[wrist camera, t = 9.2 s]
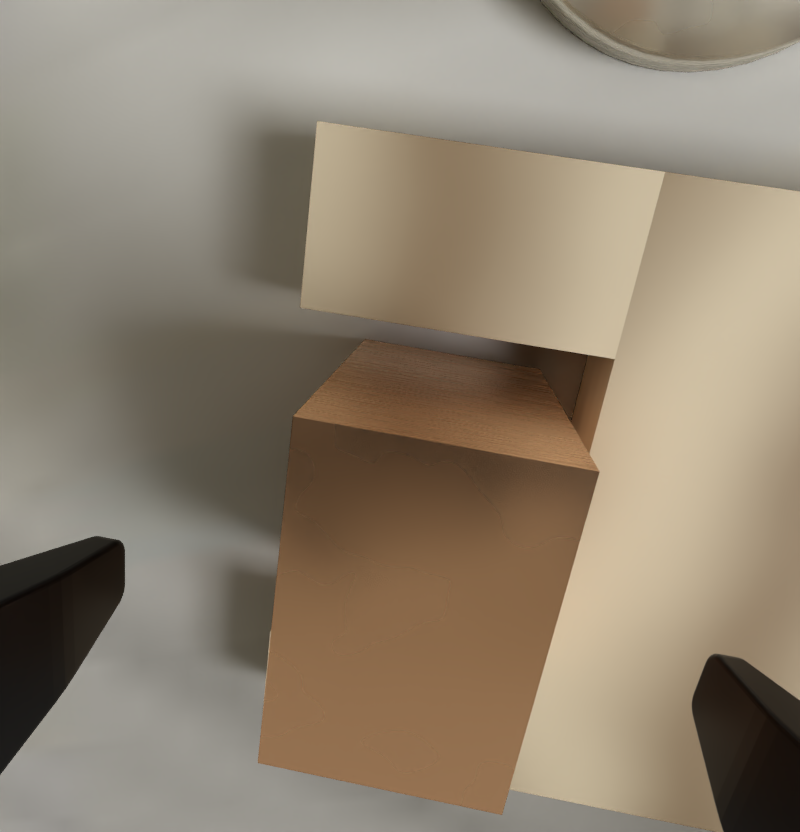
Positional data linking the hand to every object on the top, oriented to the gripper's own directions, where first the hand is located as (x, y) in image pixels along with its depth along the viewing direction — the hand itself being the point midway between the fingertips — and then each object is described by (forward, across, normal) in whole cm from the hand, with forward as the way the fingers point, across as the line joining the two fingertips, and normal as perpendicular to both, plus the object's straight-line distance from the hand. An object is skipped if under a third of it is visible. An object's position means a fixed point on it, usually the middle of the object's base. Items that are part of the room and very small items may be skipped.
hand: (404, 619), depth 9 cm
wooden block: (+6, 0, 0) cm, 6 cm away
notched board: (+6, -5, 0) cm, 7 cm away
